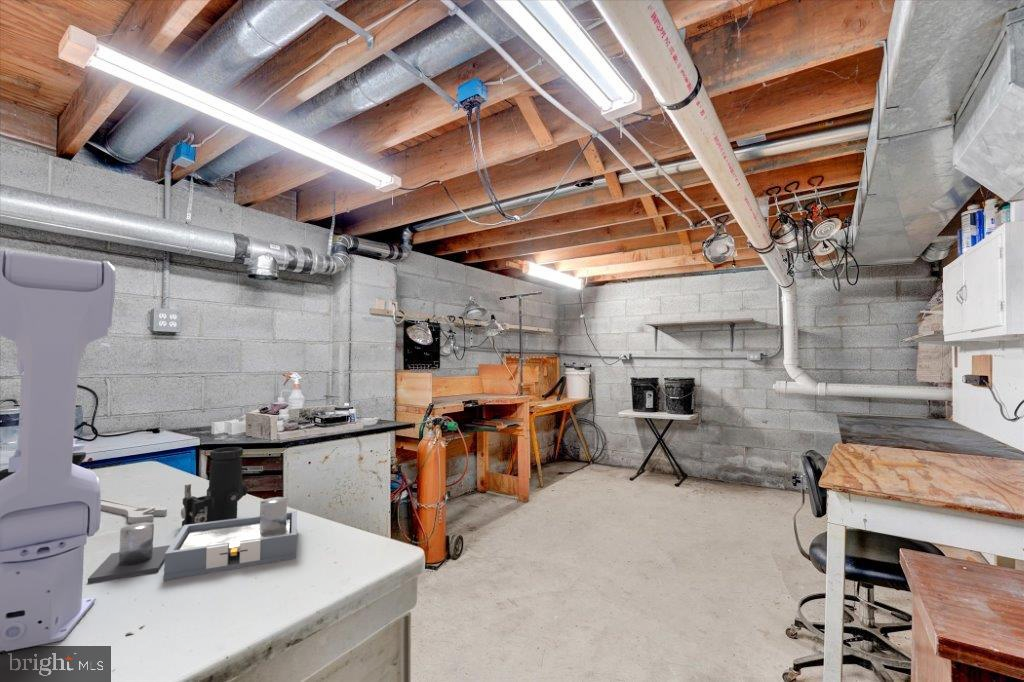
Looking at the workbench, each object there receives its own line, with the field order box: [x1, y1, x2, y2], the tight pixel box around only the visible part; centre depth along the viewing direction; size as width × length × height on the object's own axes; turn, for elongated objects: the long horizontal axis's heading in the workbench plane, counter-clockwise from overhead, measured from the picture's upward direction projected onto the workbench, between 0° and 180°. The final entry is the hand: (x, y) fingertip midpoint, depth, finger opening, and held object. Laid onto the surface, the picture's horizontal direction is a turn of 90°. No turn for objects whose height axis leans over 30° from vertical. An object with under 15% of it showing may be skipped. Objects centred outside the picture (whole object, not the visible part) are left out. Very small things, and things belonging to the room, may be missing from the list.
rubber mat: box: [87, 544, 171, 584], centre depth 69 cm, size 9×8×1 cm
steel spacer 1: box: [118, 522, 155, 566], centre depth 70 cm, size 4×4×5 cm
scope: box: [180, 446, 249, 528], centre depth 87 cm, size 8×14×10 cm
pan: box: [180, 519, 290, 556], centre depth 73 cm, size 12×15×1 cm
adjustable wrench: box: [101, 497, 168, 525], centre depth 94 cm, size 25×6×2 cm, turn 63°
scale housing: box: [162, 510, 298, 581], centre depth 74 cm, size 13×17×4 cm
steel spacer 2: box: [259, 496, 288, 535], centre depth 76 cm, size 4×4×5 cm
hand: (43, 510), depth 66 cm, fingers open, 7 cm apart
